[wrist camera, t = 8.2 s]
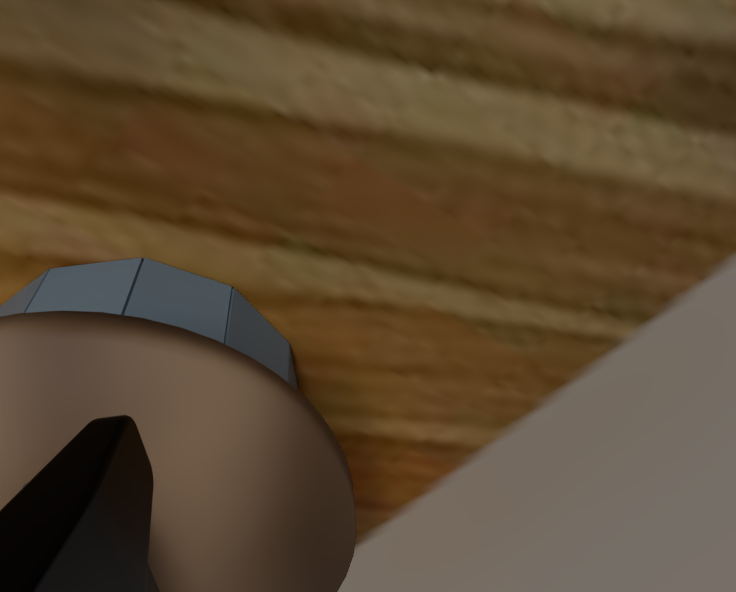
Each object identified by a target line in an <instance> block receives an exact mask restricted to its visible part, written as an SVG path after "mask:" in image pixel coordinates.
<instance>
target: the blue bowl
mask: <svg viewBox="0 0 736 592" xmlns="http://www.w3.org/2000/svg"><path fill="white" fill-rule="evenodd" d="M231 288H232V286H229V285H226V284H223V283H220V282H217V281H214V280H211V279H208V278H205V277H202V276H199V275H196V274H192V273H189V272H186V271H183V270H180V269H177V268H174V267H171V266H168V265H165V264H162V263H159V262H156V261H153V260H150V259H147V258H144V261H143V260H142V258H134V259H126V260H117V261H109V262H101V263H93V264H84V265H76V266H68V267H60V268H52V269H50V271H49V270H47V271H46V272H44V273H43V274H42V275H40V276H39V277H38V278H36V279H35V280H34V281H33V282H31V283H30V284H29V285H27V286H26V287H25V288H23V289H22V290H21V291H19V292H18V293H17V294H15V295H14V296H13V297H12V298H10V299H9V300H8V301H6V302H5V303H4V304H2V305H1V306H0V317H1V316H7V315H12V314H18V313H30V312H45V311H86V312H104V313H111V314H119V315H126V316H133V317H140V318H145V319H149V320H153V321H157V322H161V323H165V324H169V325H173V326H177V327H181V328H184V329H187V330H189V331H192V332H195V333H198V334H201V335H203V336H206V337H209V338H212V339H214V340H217V341H219V342H221V343H223V344H225V345H227V346H229V347H232V348H234V349H236V350H238V351H240V352H242V353H244V354H246V355H248V356H250V357H252V358H253V359H255V360H256V361H258V362H259V363H261V364H262V365H264V366H266V367H267V368H269V369H270V370H272V371H273V372H275V373H276V374H278V375H279V376H281V377H282V378H283V379H284V380H285V381H287V382H288V383H289V384H290V385H291V386H293V387H294V388H295V389H296V390H297V391H298V386H297V381H296V375H295V370H294V365H293V359H292V354H291V349H290V344H289V342H288V341H287V340H286V339H285V338H284V337H283V336H282V335H281V334H280V333H279V332H278V331H277V330H276V329H275V328H274V327H273V326H272V325H271V324H270V323H269V322H268V321H267V320H266V319H265V318H264V317H263V316H262V315H261V314H260V313H259V312H258V311H257V310H256V309H255V308H254V307H253V306H252V305H251V304H250V303H249V302H248V301H247V300H246V299H245V298H244V297H243V296H242V295H241V294H240V293H239V292H238V291H237V290H236V289H235V288H233V289H231ZM298 392H299V391H298Z"/></svg>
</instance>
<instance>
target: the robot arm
mask: <svg viewBox="0 0 736 592" xmlns="http://www.w3.org/2000/svg"><path fill="white" fill-rule="evenodd" d="M153 487H154V480H153V471H152V466H151V463H150V460H149V458H148V455H147V452H146V450H145V447H144V444H143V441H142V439H141V436H140V433H139V430H138V428H137V425H136V423H135V421H134V420H133V419H132V417H130V416H127V415H119V416H111V417H103V418H97V419H94V420H92V421H91V422H89V423H88V424H87V425H86V426H85V427H84V428H83V429H82V430H81V431H80V432H79V433H78V434H77V435H76V436H75V437H74V438H73V439H72V440H71V441H70V442H69V443H68V444H67V445H66V446H65V447H64V448H63V449H62V450H61V451H60V452H59V453H58V454H57V455H56V456H55V457H54V458H53V459H52V460H51V461H50V462H48V463H47V464H46V465H45V466H44V467H43V468H42V469H41V470H40V471H39V472H38V473H37V474H36V475H35V476H34V477H33V478H32V479H31V480H30V481H29V482H28V483H27V484H26V485H25V486H24V487H23V488H22V489H21V490H20V491H19V492H18V493H17V494H16V495H15V496H14V497H13V498H12V499H11V500H10V501H9V502H8V503H7V504H6V505H5V506H4V507H3V508H2V509H1V510H0V592H146V580H147V567H148V554H149V541H150V527H151V514H152V501H153Z"/></svg>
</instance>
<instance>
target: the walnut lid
mask: <svg viewBox="0 0 736 592" xmlns="http://www.w3.org/2000/svg"><path fill="white" fill-rule="evenodd" d="M119 415H127V416H130V417H132V419H133V420H134V421H135V423H136V425H137V428H138V430H139V433H140V436H141V439H142V441H143V444H144V447H145V450H146V452H147V455H148V458H149V460H150V463H151V466H152V471H153V480H154V487H153V501H152V514H151V527H150V541H149V554H148V567H147V580H146V592H337V591H338V589H339V588H340V586H341V584H342V582H343V580H344V579H345V577H346V575H347V572H348V569H349V566H350V563H351V561H352V558H353V553H354V547H355V540H356V521H355V506H354V495H353V484H352V480H351V476H350V471H349V467H348V463H347V460H346V458H345V456H344V453H343V451H342V449H341V447H340V444H339V442H338V440H337V438H336V436H335V435H334V433H333V432H332V430H331V429H330V427H329V426H328V424H327V423H326V421H325V420H324V418H323V417H322V416H321V415H320V413H319V412H318V411H317V410H316V409H315V408H314V407H313V406H312V405H311V404H310V402H309V401H308V400H307V399H306V398H305V397H304V396H303V395H302V394H301V393H300V392H298V391H297V390H296V389H295V388H294V387H293V386H291V385H290V384H289V383H288V382H287V381H285V380H284V379H283V378H282V377H281V376H279V375H278V374H276V373H275V372H273V371H272V370H270V369H269V368H267V367H266V366H264V365H262V364H261V363H259V362H258V361H256V360H255V359H253V358H252V357H250V356H248V355H246V354H244V353H242V352H240V351H238V350H236V349H234V348H232V347H229V346H227V345H225V344H223V343H221V342H219V341H217V340H214V339H212V338H209V337H206V336H203V335H201V334H198V333H195V332H192V331H189V330H187V329H184V328H181V327H177V326H173V325H169V324H165V323H161V322H157V321H153V320H149V319H145V318H140V317H133V316H126V315H119V314H111V313H104V312H86V311H45V312H30V313H18V314H12V315H7V316H1V317H0V510H1V509H2V508H3V507H4V506H5V505H6V504H7V503H8V502H9V501H10V500H11V499H12V498H13V497H14V496H15V495H16V494H17V493H18V492H19V491H20V490H21V489H22V488H23V487H24V486H25V485H26V484H27V483H28V482H29V481H30V480H31V479H32V478H33V477H34V476H35V475H36V474H37V473H38V472H39V471H40V470H41V469H42V468H43V467H44V466H45V465H46V464H47V463H48V462H50V461H51V460H52V459H53V458H54V457H55V456H56V455H57V454H58V453H59V452H60V451H61V450H62V449H63V448H64V447H65V446H66V445H67V444H68V443H69V442H70V441H71V440H72V439H73V438H74V437H75V436H76V435H77V434H78V433H79V432H80V431H81V430H82V429H83V428H84V427H85V426H86V425H87V424H88V423H89V422H91V421H92V420H94V419H97V418H103V417H111V416H119Z"/></svg>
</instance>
